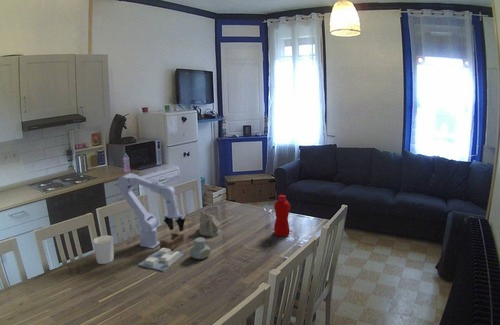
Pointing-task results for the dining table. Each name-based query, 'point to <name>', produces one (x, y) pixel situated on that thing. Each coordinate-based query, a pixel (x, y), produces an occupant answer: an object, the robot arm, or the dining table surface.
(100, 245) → the candle holder
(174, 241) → the wooden c-shaped bracket
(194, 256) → the air freshener
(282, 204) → the water bottle
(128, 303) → the dining table surface
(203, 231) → the beige rock
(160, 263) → the display stand
